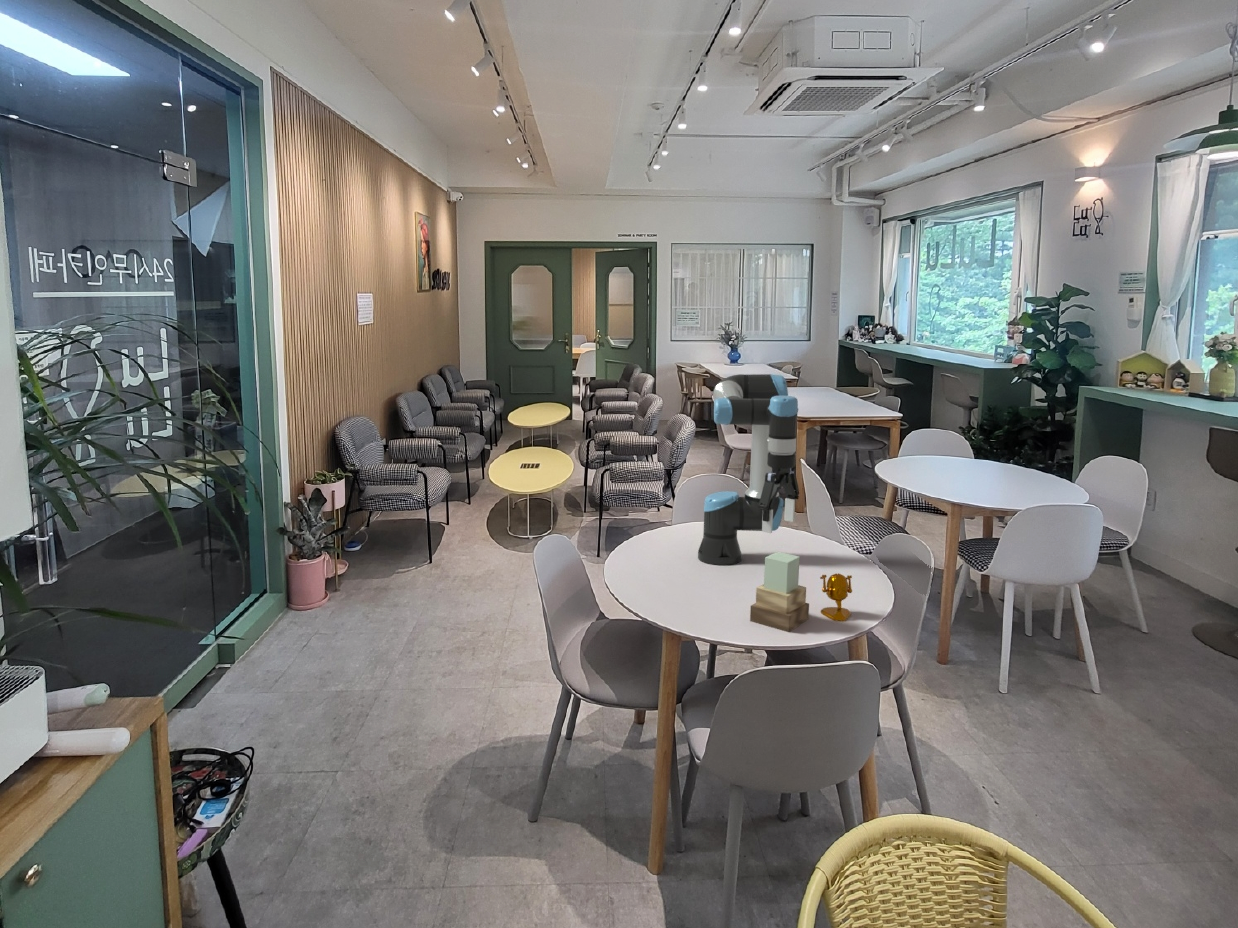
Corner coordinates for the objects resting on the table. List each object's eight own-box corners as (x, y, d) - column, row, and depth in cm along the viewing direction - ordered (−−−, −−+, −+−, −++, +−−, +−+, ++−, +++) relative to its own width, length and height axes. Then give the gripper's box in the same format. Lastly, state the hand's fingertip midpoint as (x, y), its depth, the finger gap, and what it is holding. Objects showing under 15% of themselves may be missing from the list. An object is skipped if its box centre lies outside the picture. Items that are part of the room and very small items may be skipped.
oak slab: (775, 595, 237) (776, 578, 236) (805, 603, 231) (806, 587, 229) (755, 604, 230) (756, 587, 229) (786, 613, 223) (787, 596, 222)
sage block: (775, 581, 234) (777, 551, 232) (798, 587, 230) (799, 556, 228) (763, 588, 229) (765, 557, 227) (786, 593, 224) (787, 562, 222)
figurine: (847, 607, 240) (849, 568, 238) (855, 621, 230) (858, 581, 227) (817, 606, 241) (820, 568, 239) (824, 620, 230) (827, 580, 228)
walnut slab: (770, 609, 239) (771, 593, 238) (808, 620, 232) (809, 603, 231) (750, 622, 230) (750, 605, 229) (788, 633, 223) (789, 616, 222)
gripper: (789, 443, 236) (785, 514, 241) (747, 458, 217) (744, 534, 221) (813, 447, 232) (809, 518, 236) (773, 461, 212) (769, 539, 217)
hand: (778, 526), depth 229 cm, fingers open, 13 cm apart
